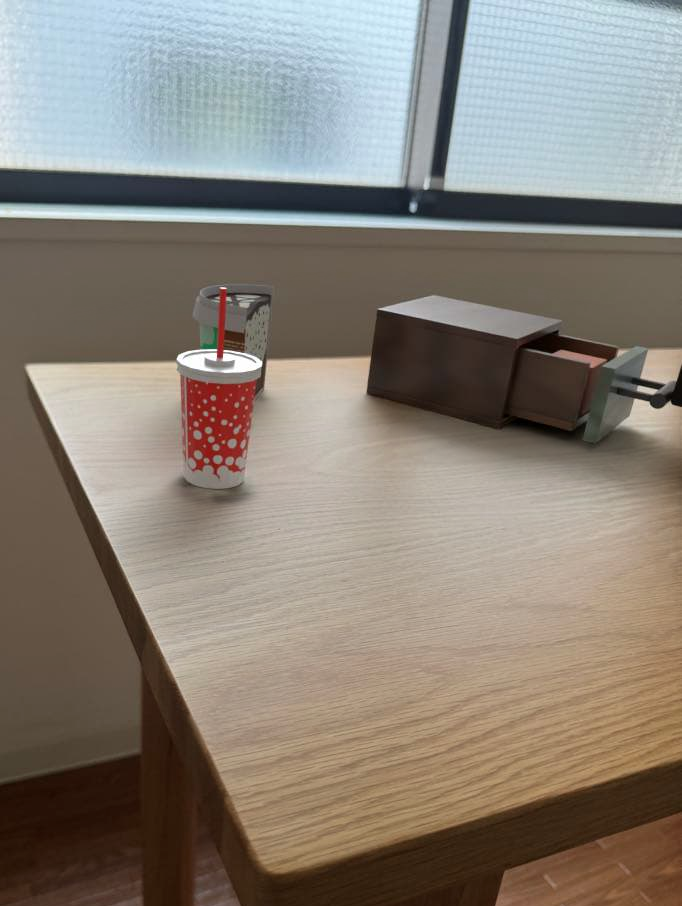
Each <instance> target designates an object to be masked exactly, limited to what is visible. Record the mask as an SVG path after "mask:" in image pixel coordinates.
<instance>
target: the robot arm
mask: <svg viewBox="0 0 682 906" xmlns="http://www.w3.org/2000/svg"><path fill="white" fill-rule="evenodd" d="M676 381H677V382H676V385H675V388H674V391H673V395H672V398H671V401H670V404H671V405H672V406H675V407H680V408H682V364H681V365H680V368H679V372H678V375H677V378H676Z"/></svg>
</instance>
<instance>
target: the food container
mask: <svg viewBox="0 0 682 906" xmlns="http://www.w3.org/2000/svg"><path fill="white" fill-rule="evenodd" d="M274 287H275V286H272V285H264V284H248V283H245V284H244V283H243V284H242V283H232V284H231V283H229V284H218V285H212V286H210V285H209V286H206V287H204V288H201V290H200V291H199V295H198V296H197V297H196V299H195V304H194V308H193V312H192V318H193V319H194V320H196V321H197V322H198V323H199V341H200V350H213V349H216V350H217V339H218V318H219V297H220V288H227V294H226V313H225V333H224V350H227V351H235V352H240V353H245V354H248V355H251V356H254V357H257V358H258V359H259V360H260V361H262V368H261V376H260V378H258V379H257V382H256V389H255V397H254V402H255V401H256V400H257V399H258V398H259V396H261V394H262V393H263V392H264V390H265V386H266V385H265V384H266V374H267V365H268V364H267V363H268V352H269V344H270V343H269V342H270V333H271V331H270V330H271V321H272V311H273V308H274V296H275V293H274V289H275V288H274Z"/></svg>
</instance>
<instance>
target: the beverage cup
mask: <svg viewBox="0 0 682 906" xmlns="http://www.w3.org/2000/svg"><path fill="white" fill-rule="evenodd" d="M226 294H227V288H220V297H219V318H218V339H217V350H216V349H213V350H201V349H196V350H188V351H185V352H182V353H180V354H178V356H177V358H176V365H177V366H176V367H177V368H176V371H177V372H178V373H179V378H180V405H181V406H180V409H181V410H180V411H181V432H182V433H181V437H182V439H181V441H182V467H183V468H182V469H183V478H184V480H185V481H186V482H187V483H189V484H191V485H193V486H196V487H200V488H203V489H211V490H223V489H231V488H235V487H238V486H240V485H241V484H242V483H244V480H245V474H246V473H245V472H246V466H247V465H246V464H247V457H248V451H249V443H250V442H249V441H250V435H251V434H250V433H251V429H252V427H251V426H252V419H253V412H254V405H255V401H254V397H255V389H256V382H257V379H258V378H260V376H261V368H262V361H260V360H259V359H258V358H257V357H254V356H251V355H248V354H245V353H240V352H235V351H227V350H224V333H225V313H226Z"/></svg>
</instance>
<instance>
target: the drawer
mask: <svg viewBox="0 0 682 906" xmlns="http://www.w3.org/2000/svg"><path fill="white" fill-rule="evenodd" d="M518 347H519V348H518V353H517V358H516V363H515V367H514V372H513V377H512V382H511V387H510V391H509V396H508V401H507V406H506V410H505V414H508V415H512V416H516V417H518V418H520V419H523V420H528V421H532V422H534V423H538V424H543V425H548V426H551V427H553V428H554V427H555V428H558V429H562V430H566V431H569V432H572V431H574V430H576V429H577V428H578V427H580V426H581V425H582V424H584V423H585V422H586V424H585V428H584V433H583V436H582V441H586V442H589V443H592V444H597V443H598V442H599V441H600V440H602V439H603V438H604V437H606V435H609V433H611V432H612V431H613V430H614V429H615V428H617V427H618V426H619V425H620V424H621V423H623V422H624V421H625V420H626V419H628V418H629V417H630V416H631V413H632V409H633V406H634V402H635V400H639V401H644V402H648V403H649V405H650V407H651V408H653V409H655V410H660V409H663V408H664V407H665V406H666V405H668V404H669V403H671V398H672V395H673V391H674V388H675V385H676V382H677V380H671V381H670V380H669V382H667V383H663V382H659V381H655V380H650V379H646V378H641V377H642V373H643V370H644V366H645V363H646V362H645V361H646V358H647V356H648V353H649V352H648V351H649V348H647V347H642V346H638V345H635V346H634V347H632V348H630V349H629V350H627V351H625V352H623V353H621V354H620V355H619V350H620V346H619V345H615V344H609V343H604V342H600V341H597V340H596V341H595V340H591V339H585V338H582V337H581V338H580V337H575V336H572V335H566V334H561V333H560V334H557V333H549V334H547V335H545V336H542V337H540V338H537V339H535V340H533V341H530V342H528V343H525V344H523V345H521V346H518ZM559 350H565V351H569V352H574V353H579V354H583V355H588V356H593V357H597V358H602V359H607V363H606V364H604V365H603V366H601V370H600V374H599V377H598V381H597V385H596V389H595V393H594V397H593V401H592V405H591V409H590V410H588V411H587V412H586V413H584V414H583V415H581V416H580V415H578V412H579V408H580V404H581V400H582V396H583V392H584V388H585V384H586V380H587V376H588V372H589V367H590V362H587V361H583V360H578V359H573V358H569V357H564V356H560V355H555V354H553V353H555V352H557V351H559ZM639 387H643V388H648V389H652V390H657V391H655V392H654V393H653V394H652V393H648V392H644V391H639V390H638V388H639Z"/></svg>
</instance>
